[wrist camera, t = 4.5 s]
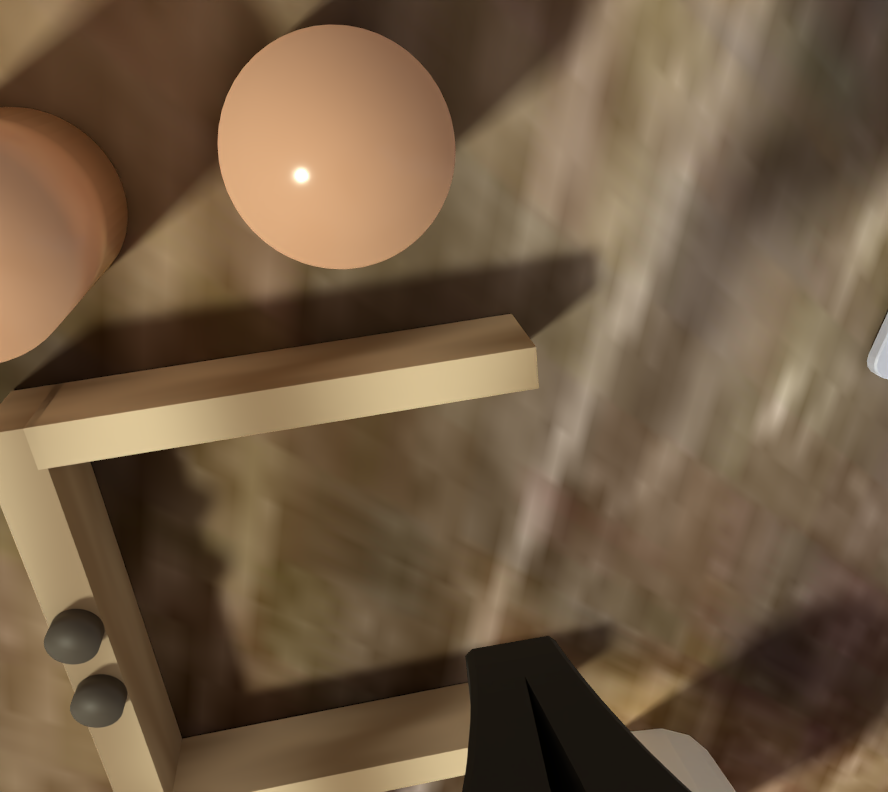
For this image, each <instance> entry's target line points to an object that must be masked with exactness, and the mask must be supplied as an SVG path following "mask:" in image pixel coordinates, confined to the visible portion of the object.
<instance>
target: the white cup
mask: <svg viewBox="0 0 888 792" xmlns="http://www.w3.org/2000/svg"><path fill="white" fill-rule="evenodd" d="M630 732H631V733H632V734H633V735H634V736H635V737H636V738H637V739H638V740H639V741H640V742H641V743H642V744H643V745H644V746H645V747H646V748H647V749H648V750H649V751H650V752H651V753H652V754H653V755H654V756H655V757H656V758H657V759H658V760H659V761H660V762H661V763H662V764H663V765H664V766H665V767H666V768H667V769H668V770H669V771H670V772H671V773H672V774H673V775H674V776H675V777H676V778H677V779H678V780H680V781H681V782H682V783H683V784H684V785H685V786H686V787H687V788H688V789H689V790H690V791H692V792H736V791H735V789H734V788H733V787H732V785H731V784H730V782H729V781H728V779H727V778H726V777H725V775H724V774H723V772H722V771H721V769H720V768H719V766H718V765H717V764H716V762H715V761H714V759H713V758H712V756H711V755H710V754H709V752H708V751H707V750H706V749H705V748H704V747H703V746H701V745H700V744H699V743H698V742H697V741H696V740H694V739H693V738H692V737H691V736H690V735H686V734H682V733H678V732H674V731H670V730H666V729H651V730H640V731H630Z"/></svg>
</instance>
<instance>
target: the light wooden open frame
mask: <svg viewBox="0 0 888 792" xmlns="http://www.w3.org/2000/svg"><path fill="white" fill-rule="evenodd" d="M536 388H539V385H538V370H537V355H536V346H535V345H534V344H533V342H532V341H531V340H530V338H529V337H528V335H527V334H526V333H525V331H524V330H523V329H522V327H521V326H520V325H519V323H518V322H517V320H516V319H515V318H514V316H513V315H512V314H506V315H500V316H493V317H487V318H480V319H474V320H468V321H461V322H455V323H448V324H442V325H435V326H429V327H422V328H416V329H409V330H403V331H396V332H390V333H383V334H377V335H371V336H364V337H358V338H351V339H345V340H338V341H332V342H325V343H319V344H312V345H306V346H299V347H293V348H286V349H280V350H274V351H267V352H261V353H254V354H248V355H241V356H235V357H228V358H222V359H215V360H209V361H202V362H196V363H189V364H183V365H177V366H170V367H164V368H157V369H151V370H144V371H138V372H131V373H125V374H118V375H112V376H105V377H99V378H92V379H86V380H80V381H73V382H67V383H60V384H54V385H47V386H41V387H34V388H28V389H21V390H15V391H11V392H10V393H9V395H8V396H7V397H6V398H5V399H4V401H3V402H2V403H1V404H0V505H1V508H2V510H3V513H4V515H5V518H6V520H7V523H8V525H9V528H10V531H11V533H12V536H13V538H14V541H15V543H16V546H17V548H18V551H19V553H20V556H21V558H22V561H23V564H24V566H25V569H26V571H27V574H28V576H29V579H30V581H31V584H32V586H33V589H34V591H35V594H36V596H37V599H38V602H39V604H40V607H41V609H42V612H43V614H44V617H45V619H46V622H47V624H48V627H49V629H48V631H47V634H46V636H45V639H44V647H45V649H46V651H47V653H48V654H49V655H50V656H51V657H52V658H53V659H55V660H57V661H59V662H61V663H63V665H64V667H65V670H66V673H67V675H68V678H69V680H70V683H71V685H72V688H73V690H74V693H75V694H74V696H73V699H72V702H71V705H70V711H71V714H72V716H73V717H74V719H75V720H76V721H77V722H79V723H80V724H82V725H85V726H88V728H89V731H90V733H91V736H92V738H93V741H94V744H95V746H96V749H97V751H98V754H99V756H100V759H101V761H102V764H103V766H104V769H105V771H106V774H107V776H108V779H109V782H110V784H111V787H112V789H113V792H384V791H389V790H394V789H399V788H404V787H408V786H413V785H418V784H423V783H428V782H433V781H437V780H442V779H447V778H452V777H457V776H462V775H465V772H466V764H467V754H468V742H469V730H470V709H471V704H470V695H469V685H468V683H463V684H458V685H453V686H448V687H443V688H438V689H433V690H428V691H423V692H418V693H412V694H407V695H402V696H397V697H392V698H387V699H382V700H377V701H372V702H367V703H361V704H356V705H351V706H346V707H341V708H336V709H331V710H326V711H321V712H316V713H311V714H305V715H300V716H295V717H290V718H285V719H280V720H275V721H270V722H265V723H260V724H255V725H249V726H244V727H239V728H234V729H229V730H224V731H219V732H214V733H209V734H204V735H198V736H193V737H188V738H183V739H182V737H181V733H180V730H179V727H178V724H177V721H176V718H175V715H174V712H173V709H172V706H171V703H170V700H169V697H168V694H167V691H166V688H165V685H164V682H163V679H162V676H161V673H160V670H159V667H158V664H157V661H156V658H155V655H154V652H153V649H152V646H151V643H150V640H149V637H148V634H147V631H146V628H145V625H144V622H143V619H142V616H141V613H140V610H139V607H138V604H137V601H136V598H135V595H134V592H133V589H132V586H131V583H130V580H129V577H128V574H127V571H126V568H125V565H124V562H123V559H122V556H121V553H120V550H119V547H118V544H117V541H116V538H115V535H114V532H113V529H112V526H111V522H110V519H109V516H108V513H107V510H106V507H105V504H104V501H103V498H102V495H101V492H100V489H99V486H98V483H97V480H96V477H95V474H94V471H93V468H92V465H91V461H97V460H103V459H109V458H115V457H121V456H127V455H133V454H139V453H145V452H152V451H158V450H164V449H170V448H176V447H182V446H188V445H194V444H200V443H207V442H213V441H219V440H225V439H231V438H237V437H243V436H249V435H255V434H261V433H268V432H274V431H280V430H286V429H292V428H298V427H304V426H310V425H316V424H323V423H329V422H335V421H341V420H347V419H353V418H359V417H365V416H371V415H378V414H384V413H390V412H396V411H402V410H408V409H414V408H420V407H426V406H432V405H439V404H445V403H451V402H457V401H463V400H469V399H475V398H481V397H487V396H494V395H500V394H506V393H512V392H518V391H524V390H530V389H536Z"/></svg>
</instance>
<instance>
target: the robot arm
mask: <svg viewBox="0 0 888 792" xmlns="http://www.w3.org/2000/svg"><path fill="white" fill-rule="evenodd" d="M867 364H868V368H869V369H870V371H871V372H873V373H874V374H876V375H878V376H880V377H882V378H885V379H888V313H887V315H886V318H885V320H884V322H883V324H882V326H881V328H880V331H879V333H878V335H877V337H876V339H875V342H874V344H873V346H872V348H871V350H870V353H869V355H868V359H867ZM465 657H466V667H467V676H468V685H469V695H470V704H471V709H470V730H469V742H468V754H467V764H466V772H465V778H464V784H463V791H462V792H692V791H690V790H689V789H688V788H687V787H686V786H685V785H684V784H683V783H682V782H681V781H680V780H678V779H677V778H676V777H675V776H674V775H673V774H672V773H671V772H670V771H669V770H668V769H667V768H666V767H665V766H664V765H663V764H662V763H661V762H660V761H659V760H658V759H657V758H656V757H655V756H654V755H653V754H652V753H651V752H650V751H649V750H648V749H647V748H646V747H645V746H644V745H643V744H642V743H641V742H640V741H639V740H638V739H637V738H636V737H635V736H634V735H633V734H632V733H631V732H630V730H629V729H628V728H627V727H626V726H625V725H624V724H623V723H622V722H621V721H620V720H619V719H618V717H617V716H616V715H615V714H614V713H613V712H612V711H611V710H610V709H609V708H608V706H607V705H606V704H605V703H604V702H603V701H602V700H601V698H600V697H599V696H598V695H597V694H596V693H595V691H594V690H593V689H592V688H591V687H590V685H589V684H588V683H587V682H586V681H585V679H584V678H583V677H582V676H581V674H580V673H579V672H578V671H577V669H576V668H575V667H574V665H573V664H572V663H571V662H570V660H569V659H568V658H567V656H566V655H565V654H564V652H563V651H562V649H561V648H560V647H559V645H558V644H557V642H556V641H555V640H554V639H552V638H551V637H549V636H545V637H539V638H533V639H528V640H522V641H516V642H510V643H505V644H499V645H493V646H487V647H482V648H476V649H472V650H471V651H470V652H469V653H468V654H467V655H466V656H465Z"/></svg>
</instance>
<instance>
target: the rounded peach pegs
mask: <svg viewBox="0 0 888 792" xmlns="http://www.w3.org/2000/svg"><path fill="white" fill-rule="evenodd" d="M218 157H219V163H220V169H221V174H222V177H223V180H224V183H225V186H226V189H227V192H228V194H229V196H230V198H231V200H232V202H233V204H234V206H235V208H236V209H237V211H238V212H239V214H240V215H241V217H242V218H243V220H244V221H245V222H246V223H247V224H248V226H249V227H250V228H251V229H252V230H253V231H254V232H255V233H256V234H257V235H258V236H259V237H260V238H261V239H262V240H263V241H264V242H266V243H267V244H268V245H270V246H271V247H273V248H274V249H275V250H277V251H279V252H280V253H282V254H284V255H286V256H288V257H289V258H292V259H294V260H297V261H299V262H302V263H305V264H309V265H312V266H316V267H322V268H330V269H351V268H359V267H365V266H368V265H372V264H376V263H379V262H381V261H384V260H386V259H389V258H391V257H393V256H394V255H396V254H398V253H400V252H401V251H403V250H404V249H406V248H407V247H408V246H410V245H411V244H412V243H414V242H415V241H416V240H417V239H418V238H419V237H420V236H421V235H422V234H423V233H424V232H425V231H426V230H427V228H428V227H429V226H430V225H431V224H432V222H433V221H434V219H435V218H436V216H437V215H438V213H439V211H440V210H441V208H442V206H443V204H444V201H445V199H446V197H447V195H448V192H449V188H450V185H451V182H452V178H453V172H454V166H455V136H454V129H453V125H452V120H451V116H450V113H449V110H448V107H447V104H446V102H445V100H444V98H443V95H442V93H441V91H440V89H439V87H438V86H437V84H436V83H435V81H434V80H433V78H432V77H431V75H430V74H429V73H428V71H427V70H426V69H425V68H424V67H423V66H422V64H421V63H420V62H419V61H418V60H417V59H416V58H415V57H413V56H412V55H411V54H410V53H409V52H408V51H407V50H405V49H404V48H402V47H401V46H399V45H398V44H396V43H395V42H394V41H392V40H390V39H388V38H386V37H384V36H382V35H380V34H378V33H375V32H372V31H369V30H366V29H363V28H358V27H353V26H348V25H319V26H312V27H308V28H303V29H299V30H296V31H294V32H291V33H289V34H286V35H284V36H282V37H280V38H278V39H276V40H275V41H273V42H271V43H270V44H268V45H267V46H266V47H264V48H263V49H262V50H261V51H259V52H258V53H257V54H255V56H254V57H253V58H252V59H251V60H250V61H249V62H248V63H247V64H246V65H245V66H244V68H243V69H242V70H241V72H240V73H239V75H238V76H237V78H236V79H235V80H234V82H233V84H232V86H231V88H230V90H229V92H228V94H227V97H226V100H225V103H224V106H223V108H222V112H221V117H220V122H219V129H218ZM127 224H128V210H127V201H126V196H125V192H124V188H123V186H122V183H121V181H120V178H119V176H118V174H117V172H116V170H115V168H114V166H113V164H112V163H111V162H110V160H109V159H108V157H107V156H106V154H105V153H104V152H103V151H102V150H101V149H100V147H99V146H98V145H97V144H96V143H95V142H94V141H93V140H92V139H91V138H89V137H88V136H87V135H86V134H85V133H84V132H82V131H81V130H79V129H78V128H77V127H75V126H74V125H72V124H70V123H68V122H67V121H65V120H63V119H61V118H59V117H56V116H54V115H52V114H49V113H46V112H43V111H39V110H36V109H30V108H24V107H0V363H1V362H4V361H8V360H11V359H13V358H16V357H18V356H21V355H23V354H25V353H27V352H28V351H30V350H32V349H34V348H35V347H36V346H38V345H39V344H40V343H42V342H43V341H44V340H45V339H47V337H48V336H49V335H50V334H51V333H52V332H53V331H54V330H55V329H56V328H57V327H58V326H59V324H60V323H61V322H62V321H63V320H64V319H65V318H66V316H67V315H68V314H69V313H70V312H71V311H72V310H73V308H74V307H75V306H76V305H77V304H78V303H79V301H80V300H81V299H82V298H83V297H84V296H85V295H86V293H87V292H88V291H89V290H90V289H91V288H92V286H93V285H94V284H95V283H96V282H97V281H98V280H99V278H100V277H101V276H102V275H103V274H104V273H105V272H106V270H107V269H108V268H109V267H110V266H111V264H112V263H113V262H114V260H115V259H116V257H117V256H118V254H119V252H120V250H121V248H122V245H123V242H124V239H125V236H126V230H127Z"/></svg>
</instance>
